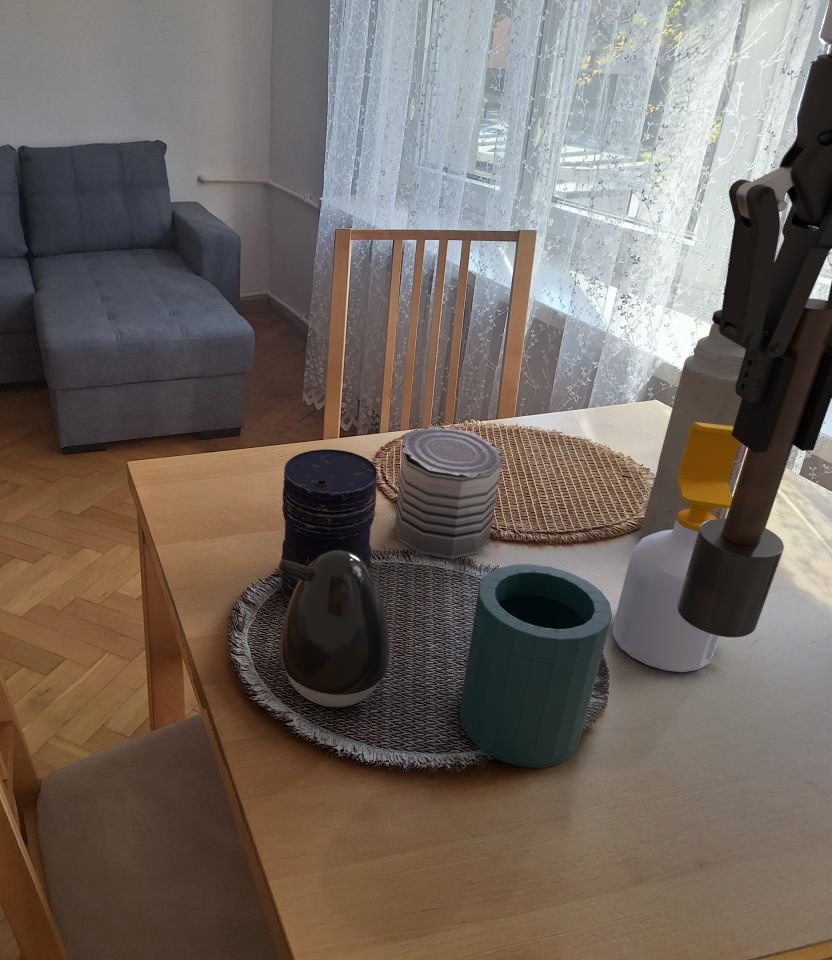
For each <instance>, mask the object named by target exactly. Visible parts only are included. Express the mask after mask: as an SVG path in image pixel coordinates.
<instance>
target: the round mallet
mask: <svg viewBox="0 0 832 960" xmlns="http://www.w3.org/2000/svg"><path fill="white" fill-rule="evenodd" d="M831 331H832V302H830V301H828V300H825V299H821V298H810V297H809V299H808V301H807V303H806V306H805V308H804V310H803V313H802V315H801V317H800V320H799V322H798V324H797V326H796V329H795V331H794V333H793V336H792V338H791V340H790V342H789V345H788V347H787V349H786V351H785V353H787V354H788V355H790V356H792V357H794V358H796V362H795V365H794V368H793V371H792V374H791V377H790V380H789V384H788V387H787V390H786V393H785V396H784V399H783V402H782V405H781V409H780V412H779V415H778V418H777V421H776V424H775V427H774V430H773V433H772V437H771V440H770V443H769V446H768V449H767V452H766V453H754V452H753V451H752V450H750V449H749V448H748V447H747V449H746V452H745V456H744V459H743V462H742V465H741V468H740V471H739V475H738V478H737V481H736V484H735V487H734V491H733V494H732V497H733V498H732V501H731V504H730V508H728V510H727V513H726V516H725V518H718V519H711V520H708V521H706V522H704V523H703V524H702V525H701V526H700V528H699V532H698V535H697V539H696V542H695V546H694V549H693V552H692V556H691V559H690V563H689V566H688V570H687V573H686V576H685V580H684V583H683V587H682V590H681V593H680V597H679V600H678V604H677V609H678V612H679V614H680V615H681V617H682V618H683V619H684V620H685V621H687V622H688V623H689V624H691V625H692V626H694V627H696V628H698V629H700V630H702V631H704V632H707V633H710V634H713V635H717V636H720V637H724V638H742V637H745V636H749V635H752V633H753V632H754V631H755V630H756V628H757V626H758V622H759V619H760V617H761V614H762V611H763V608H764V606H765V603H766V600H767V598H768V595H769V592H770V589H771V586H772V584H773V581H774V579H775V575H776V572H777V569H778V566H779V563H780V561H781V558H782V555H783V552H784V550H785V545H784V542H783V540H782V539H781V538H780V537H779V535H778V534H776V533H775V532H773V531H772V530H770V529H769V528H767V524H768V522H769V519H770V515H771V513H772V509H773V506H774V504H775V500H776V498H777V495H778V492H779V490H780V486H781V483H782V480H783V477H784V474H785V471H786V468H787V465H788V462H789V459H790V456H791V453H792V450H793V447H794V445H793V444H794V441H795V438H796V435H797V432H798V429H799V426H800V424H801V421H802V418H803V415H804V412H805V409H806V406H807V403H808V400H809V397H810V394H811V391H812V388H813V385H814V382H815V379H816V376H817V373H818V370H819V367H820V364H821V361H822V358H823V355H824V352H825V349H826V346H827V343H828V340H829V337H830V334H831Z"/></svg>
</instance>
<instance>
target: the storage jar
mask: <svg viewBox="0 0 832 960" xmlns="http://www.w3.org/2000/svg"><path fill="white" fill-rule="evenodd" d="M377 482H378V469H377V467H376V465H375V464H374V463H373V462H372V461H371V460H370V459H368V458H367V457H365V456H363V455H360V454H358V453H354V452H351V451H346V450H340V449H331V448H330V449H329V448H328V449H325V448H324V449H314V450H308V451H303V452H301V453H298V454H297V455H296V454H295V455H294V456H292V457H291V458H289V460H288V461H286V463H285V464H284V468H283V488H282V507H281V508H282V509H281V510H282V517H283V519H284V539H283V542H282V549H281V553H282V554H281V557H280V558H281V559H280V561H281V560H282V559H285V560H288V561H292V562H295V563H299V564H302V565H306V566H309V565H310V564H311V563H312V562H313V561H314V560H315V559H316V558H317V557H318V556H319V555H320V554H322V553H324V552H326V551H329V550H334V549H341V550H346V551H349V552H352V553H354V554H355V555H357V556H358V557H359V558H361V559H362V561H363V562H364V563H365V564H366V566H367V567H368V569H369V570H370V571H372V569H371V568H372V561H371V557H372V546H371V543H370V542H371V530H372V529H371V528H372V524H373V523H374V520H375V516H376V506H377V496H378V495H377ZM281 577H282V578H281V590H282V593H283V595H284V597H285V598H286V599H287V600H288V601H289V602H290V599H291V597H292V594H293V592H294V590H295V588H296V586H297V584H298V582H299V580H300V579H298V578H295V577H293V576H291V575H289V574H287V573H285V572H282V571H281Z"/></svg>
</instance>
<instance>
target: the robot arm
mask: <svg viewBox="0 0 832 960" xmlns="http://www.w3.org/2000/svg"><path fill="white" fill-rule="evenodd" d="M818 39H819V41H820V42H821V43H822V45H823V44H824V45H828V48H827V51H826V53H824V54H819V55H817V56H816V58H815V60H812V61H810V64H809V67H808V70H807V75H806V78H805V82H804V85H803V89H802V92H801V96H800V99H799V103H798V107H797V110H796V113H795V121H796V122H795V123H796V136H795V138H794V141H793V142H792V144H791V145H790V147H789V149H788V150H787V151H786V152H785V154H784V155H783V156H782V158H781V160H780V162H779V166H778V168H777V169H775V170H773V171H770V172H768V173H766V174H765V175H762V176H761V177H759V178H756V179H755V180H752V181H751V180H748V179H743V178H742V179H738V180H735V182H733V183H732V184H731V185H730V187H729V190H728V197H729V202H730V205H731V210H732V214H733V219H734V224H733V231H732V238H731V244H730V251H729V257H728V265H727V271H726V279H725V285H724V293H723V299H722V306H721V310H722V312H721V319H720V326H719V332H720V334H721V335H722V336H724V337H726V338H727V339H729V340H731V341H733V342H734V343H736V344H738V345H739V346H741V347H743V348H745V355H744V358H743V362H742V365H741V369H740V374H739V376H738V379H737V383H736V386H735V389H736V394H737V395H738V396H740V397H741V398H742V400H741V403H740V407H739V410H738V414H737V417H736V420H735V424H734V427H733V431H732V434H731V435H732V436H733V437H734V438H736V439H737V440H738V441H740V442H741V443H742V444H744V445H745V446H746V447H747V449H748V448H749V449H750V450H752V451H753V452H754V453H766V452H767V449H768V446H769V443H770V440H771V437H772V433H773V430H774V427H775V424H776V421H777V418H778V415H779V412H780V409H781V405H782V402H783V399H784V396H785V393H786V390H787V387H788V384H789V380H790V377H791V374H792V371H793V368H794V365H795V362H796V358H794V357H792V356H790V355H788V354H787V353H785V351H786V349H787V347H788V345H789V342H790V340H791V338H792V336H793V333H794V331H795V329H796V326H797V324H798V322H799V320H800V317H801V315H802V313H803V310H804V308H805V306H806V303H807V301H808V299H809V298H810V297H811V294H812V291H813V289H814V287H815V285H816V283H817V280H818V278H819V276H820V273H821V272H822V269H823V267H824V265H825V262H826V260H827V258H828V255H829V253H830V251H831V250H832V0H828V2H827V6H826V9H825V12H824V15H823V20H822V24H821V27H820V31H819V35H818ZM786 195H787V196H788V199H789V201H790V203H791V206H790V208H789V211H788V213H787V216H786V219H785V221H784V223H783V226H782V228H781V216H780V212H784V211H785V210H786V208H787V206H788V204H787V201H786V200H785V199H786ZM780 229H782V230H781V231H782V233H781V234H782V235H783V240H782V242H781V246H780V248H779V249H778V244H779V238H780V237H779V236H780ZM777 249H778V252H777ZM776 254H777V255H776ZM827 301H830V302H832V281H831V282H830V288H829V292H828V297H827ZM831 401H832V331H831V334H830V337H829V340H828V343H827V346H826V349H825V352H824V355H823V358H822V361H821V364H820V367H819V370H818V373H817V376H816V379H815V382H814V385H813V388H812V391H811V394H810V397H809V400H808V403H807V406H806V409H805V412H804V415H803V418H802V421H801V424H800V426H799V429H798V432H797V435H796V438H795V441H794V444H793V447H795V448H797V449H798V450H800V451H801V452H806V451H807V452H808V451H809V452H810V451H814V449H815V447H816V444H817V441H818V438H819V436H820V432H821V430H822V428H823V424H824V421H825V418H826V415H827V413H828V411H829V410H828V409H829V407H830V403H831Z"/></svg>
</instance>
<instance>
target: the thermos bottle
mask: <svg viewBox="0 0 832 960" xmlns="http://www.w3.org/2000/svg"><path fill="white" fill-rule="evenodd" d="M721 312H722V309H718V310H715V311H714V312H713V314H712V317H711V321H712V322H713V323H712V324H711V326H710V329H709V332H708V335H706V336H703V337H701V338H699V339H698V340H697V342H696V345H695V347H694V348H693V349H692V351H693V354H692V355H690V356H688V357H687V358H685V359H684V362H683V365H682V366H683V367H682V369H681V373H680V377H679V381H678V386H677V389H676V393H675V396H674V397H675V398H674V400H673V401H674V402H673V405H672V408H671V411H670V412H671V413H670V416H669V420H668V423H667V427H666V431H665V435H664V439H663V443H662V446H661V450H660V455H659V457H658V464H657V468H656V473H655V476H654V480H653V483H652V487H651V489H650V493H649V497H648V500H647V504H646V508H645V511H644V515H643V519H642V523H641V527H640V531H639V538H640V541H641V540H642V539H643V538H644V537H646V536H649V535H651V534H654V533H657V532H660V531H666V530H673V529H674V525H675V522H676V518H677V517H678V514H679V512H680V511H681V510H684V509H690V507H691V505H689V504H688V503H687V502H685V501H683V500H682V498H681V493H680V488H679V483H678V475H679V469H680V465H681V461H682V457H683V454H684V450H685V447H686V443H687V439H688V436H689V432H690V429H691V426H692V424H693V423H694V422H699V423H708V424H717V425H726V426H734V424H735V420H736V417H737V414H738V410H739V407H740V403H741V400H742V398H741V397H740V396H738V395H737V394H736V389H735V386H736V383H737V379H738V376H739V374H740V369H741V365H742V362H743V358H744V355H745V348H743V347H741V346H739V345H738V344H736V343H734V342H733V341H731V340H729V339H727V338H726V337H724V336H722V335H721V334H720V332H719V326H720V319H721ZM747 449H748V447H746V446H745V445H744V444H742V443H741V442H740V443H739V446H738V450H737V453H736V456H735V459H734V463H733V466H732V469H731V473H730V477H729V487H730V491H731V494H732V495H734V491H735V488H736V485H737V482H738V478H739V475H740V472H741V469H742V465H743V462H744V459H745V456H746V452H747ZM728 511H729V508H728V509H725V508H718V509H716V510H711V512H710V514H712V515H713V516H715V517H716V518H717V519H718V518H726V517H727V514H728Z"/></svg>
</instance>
